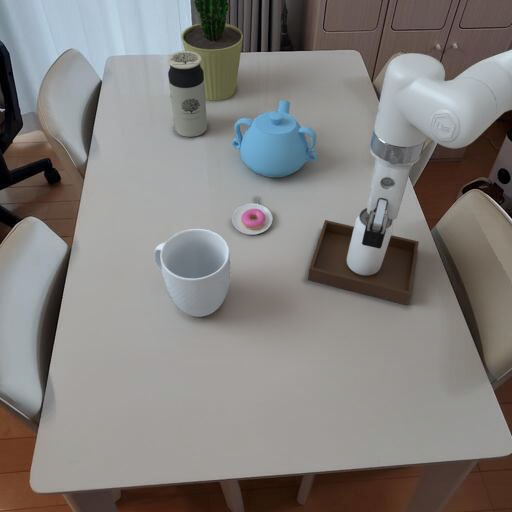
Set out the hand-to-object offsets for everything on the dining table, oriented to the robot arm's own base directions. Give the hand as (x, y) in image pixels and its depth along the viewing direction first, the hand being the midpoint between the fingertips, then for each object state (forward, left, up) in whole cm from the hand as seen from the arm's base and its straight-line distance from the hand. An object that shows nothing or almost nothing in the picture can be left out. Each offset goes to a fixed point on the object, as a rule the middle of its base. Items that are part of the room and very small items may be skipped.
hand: (375, 225), depth 85 cm
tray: (0, 0, -11) cm, 11 cm away
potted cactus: (+49, -50, -11) cm, 71 cm away
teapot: (+25, -27, -11) cm, 39 cm away
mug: (+27, +17, -11) cm, 34 cm away
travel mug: (+48, -31, -11) cm, 59 cm away
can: (0, 0, -11) cm, 11 cm away
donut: (+24, -6, -11) cm, 28 cm away
